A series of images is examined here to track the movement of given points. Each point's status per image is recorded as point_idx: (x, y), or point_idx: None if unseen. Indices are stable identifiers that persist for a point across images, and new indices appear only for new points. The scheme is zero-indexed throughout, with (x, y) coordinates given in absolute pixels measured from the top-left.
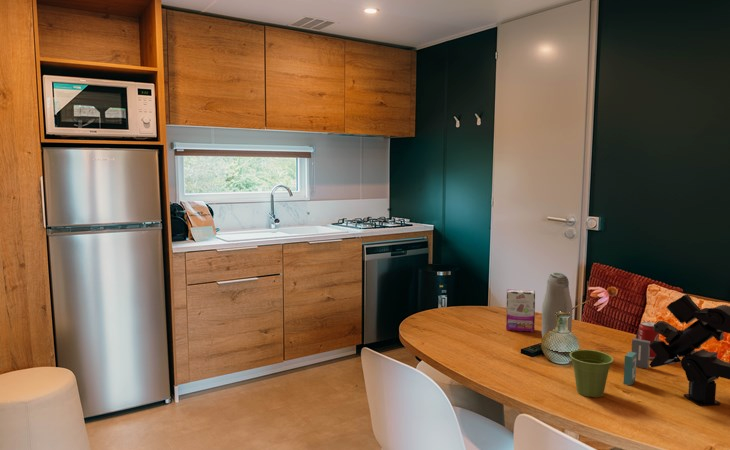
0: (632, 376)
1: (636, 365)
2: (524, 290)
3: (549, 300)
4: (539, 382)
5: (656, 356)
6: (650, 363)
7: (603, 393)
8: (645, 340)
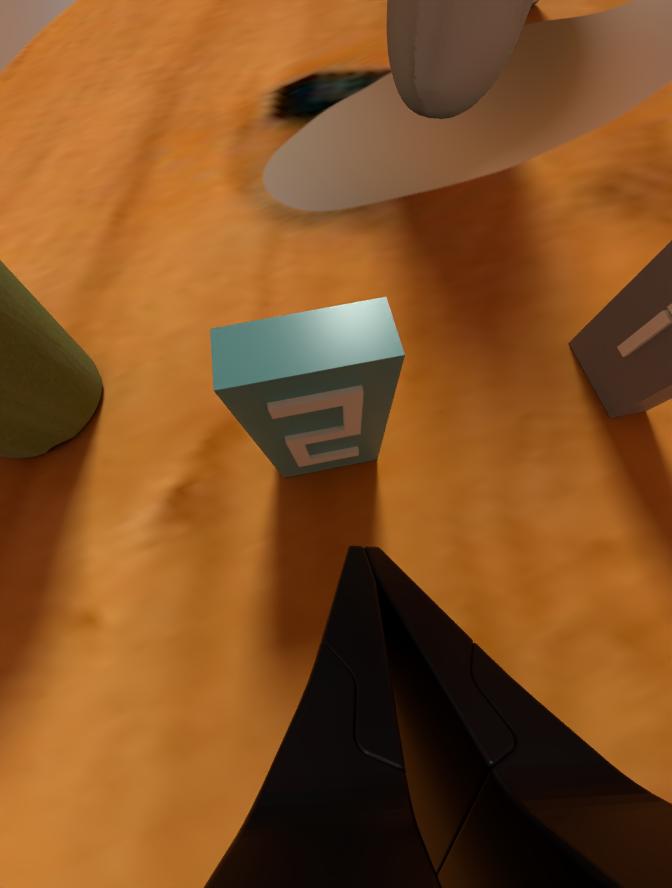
0: (295, 461)
1: (586, 363)
2: None
3: None
4: (35, 243)
5: (306, 688)
6: (346, 557)
7: (31, 454)
8: None
